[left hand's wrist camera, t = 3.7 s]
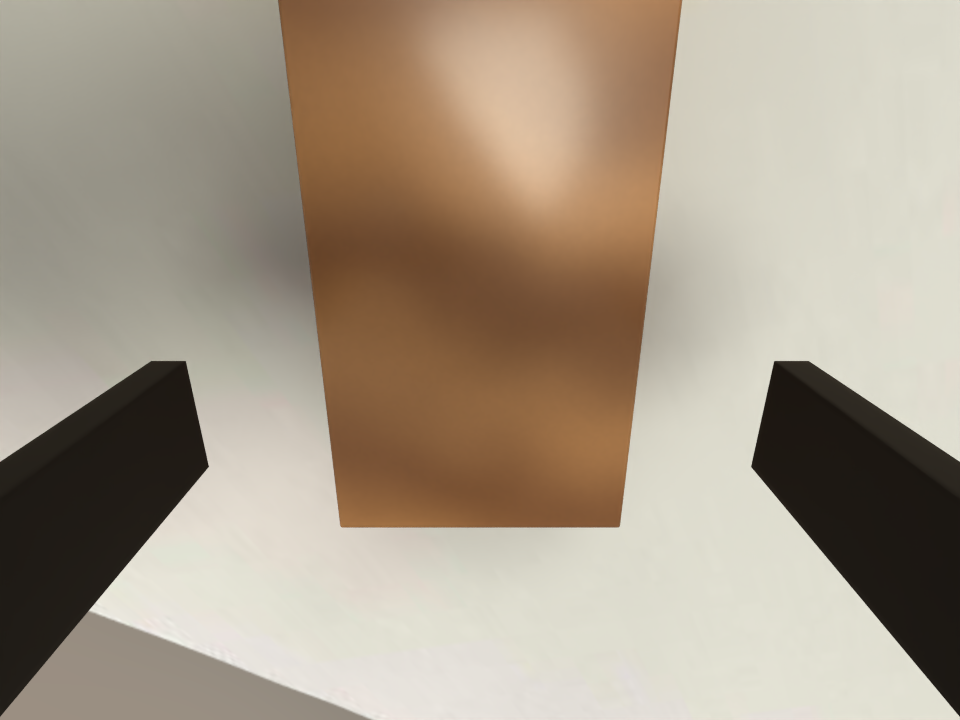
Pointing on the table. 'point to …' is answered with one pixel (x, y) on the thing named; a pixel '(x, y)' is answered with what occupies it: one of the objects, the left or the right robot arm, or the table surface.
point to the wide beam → (480, 247)
